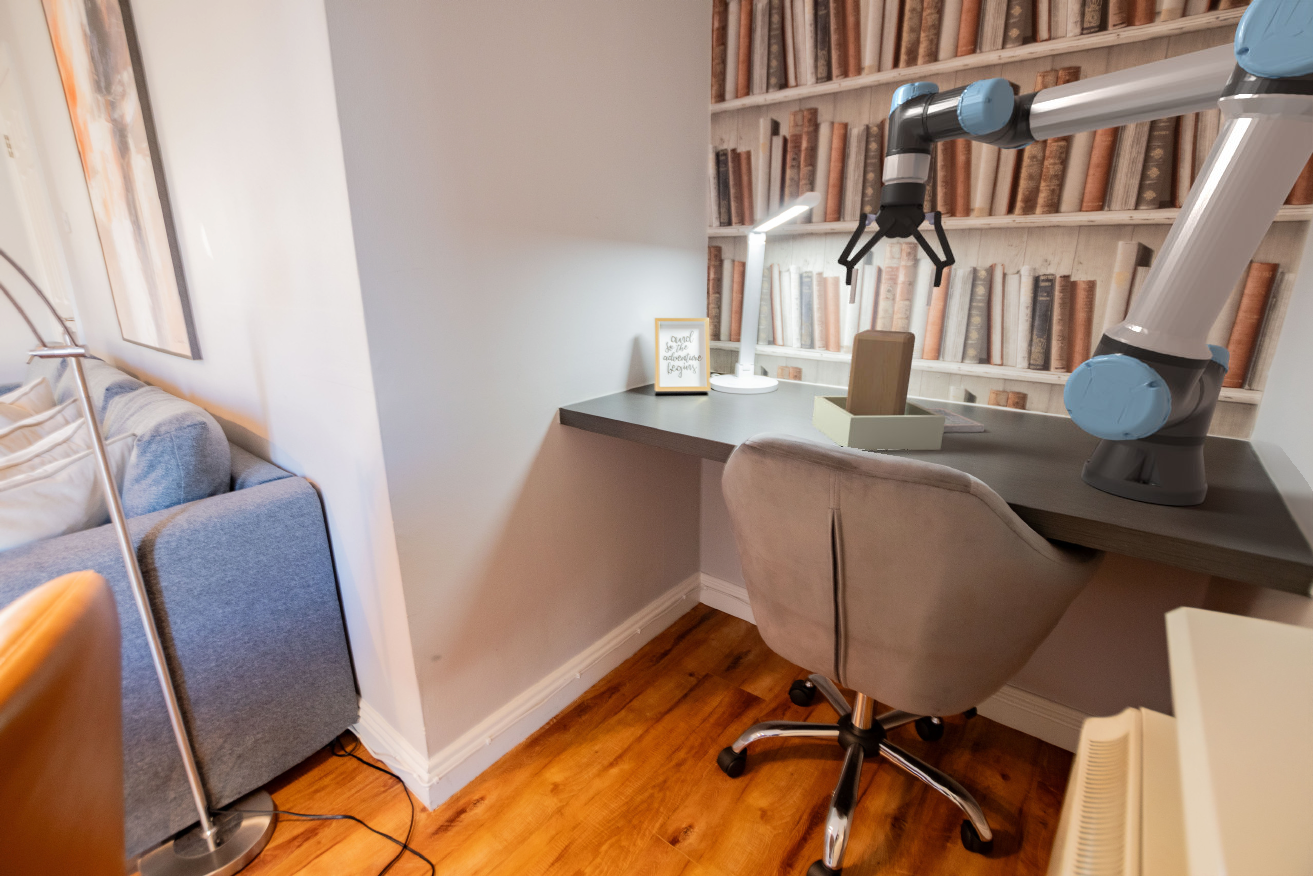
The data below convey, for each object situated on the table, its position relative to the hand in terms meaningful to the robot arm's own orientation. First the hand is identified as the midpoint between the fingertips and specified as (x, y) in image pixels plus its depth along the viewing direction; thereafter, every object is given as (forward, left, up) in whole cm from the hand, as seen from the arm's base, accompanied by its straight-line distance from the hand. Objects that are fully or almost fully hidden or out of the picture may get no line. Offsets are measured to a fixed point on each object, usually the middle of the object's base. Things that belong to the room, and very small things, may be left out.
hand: (889, 304), depth 109 cm
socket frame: (+10, -18, -26) cm, 33 cm away
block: (0, 0, -25) cm, 25 cm away
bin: (0, 0, -26) cm, 26 cm away
